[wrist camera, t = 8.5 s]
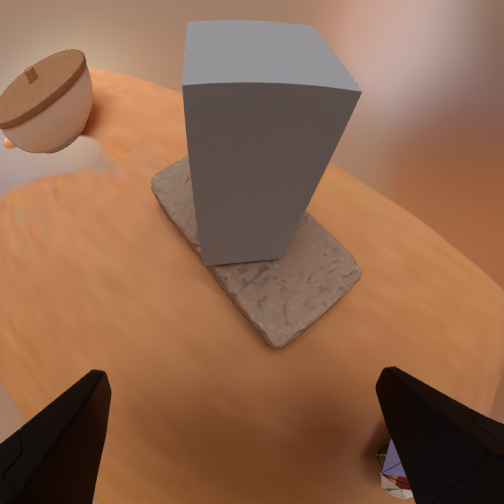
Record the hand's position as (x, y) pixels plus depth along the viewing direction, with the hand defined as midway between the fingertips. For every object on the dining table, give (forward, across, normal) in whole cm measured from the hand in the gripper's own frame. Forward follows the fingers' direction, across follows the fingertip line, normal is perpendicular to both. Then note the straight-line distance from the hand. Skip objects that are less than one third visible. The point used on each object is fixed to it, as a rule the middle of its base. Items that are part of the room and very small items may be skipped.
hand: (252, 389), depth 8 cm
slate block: (+13, 0, -2) cm, 13 cm away
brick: (+17, -2, +1) cm, 17 cm away
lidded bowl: (+28, +22, -9) cm, 37 cm away
